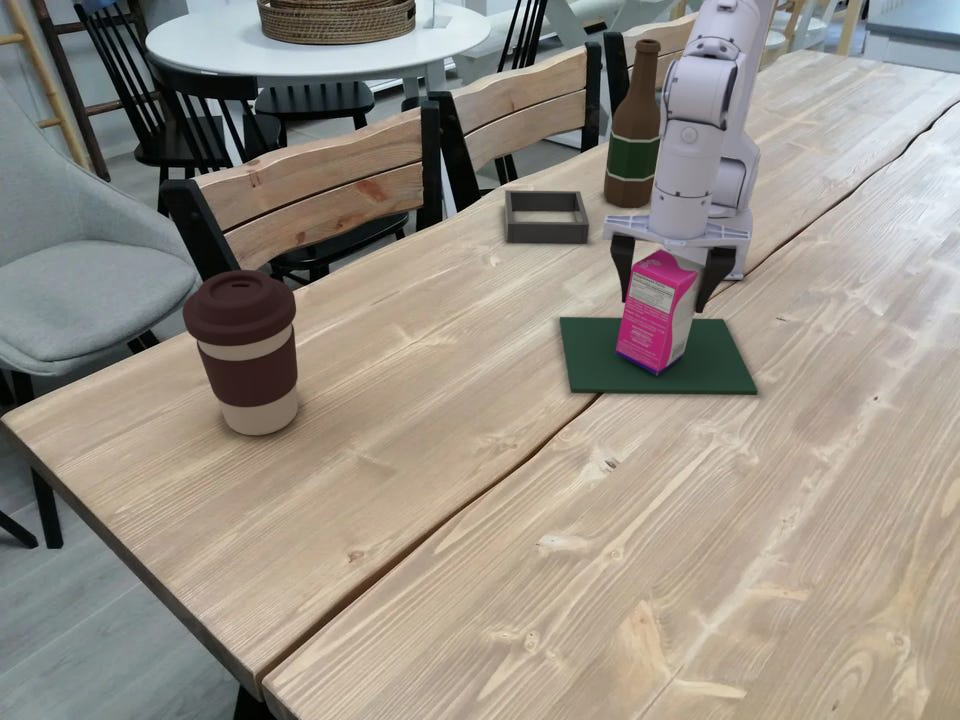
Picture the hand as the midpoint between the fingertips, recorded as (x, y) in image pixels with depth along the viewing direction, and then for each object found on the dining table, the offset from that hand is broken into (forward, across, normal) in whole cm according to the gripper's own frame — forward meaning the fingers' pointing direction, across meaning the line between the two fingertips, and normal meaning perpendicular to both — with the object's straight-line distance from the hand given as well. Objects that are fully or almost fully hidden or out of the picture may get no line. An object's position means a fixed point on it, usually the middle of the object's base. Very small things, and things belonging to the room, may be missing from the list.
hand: (661, 303), depth 81 cm
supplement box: (+6, 0, -2) cm, 6 cm away
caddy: (+7, -18, +30) cm, 35 cm away
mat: (+7, 0, 0) cm, 7 cm away
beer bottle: (+7, -6, +43) cm, 44 cm away
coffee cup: (+7, -38, -21) cm, 44 cm away
